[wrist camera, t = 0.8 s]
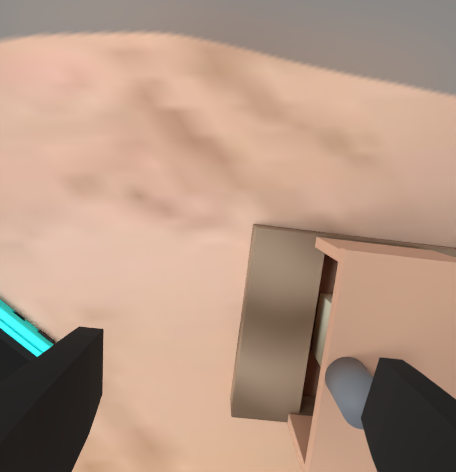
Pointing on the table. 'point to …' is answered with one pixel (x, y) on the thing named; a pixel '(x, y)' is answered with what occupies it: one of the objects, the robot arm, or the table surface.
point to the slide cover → (375, 343)
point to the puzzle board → (282, 320)
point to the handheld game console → (18, 341)
